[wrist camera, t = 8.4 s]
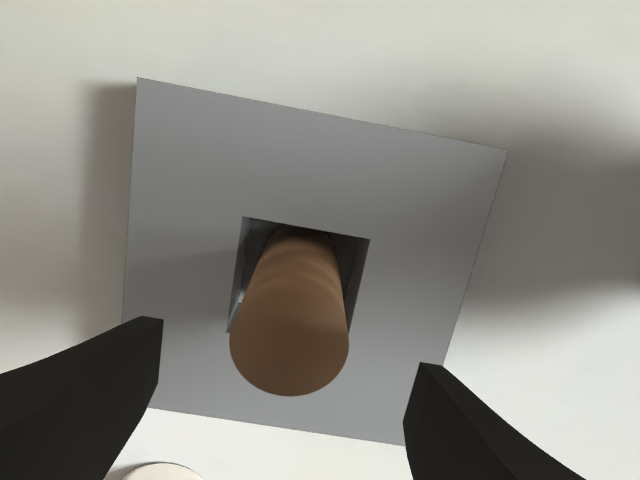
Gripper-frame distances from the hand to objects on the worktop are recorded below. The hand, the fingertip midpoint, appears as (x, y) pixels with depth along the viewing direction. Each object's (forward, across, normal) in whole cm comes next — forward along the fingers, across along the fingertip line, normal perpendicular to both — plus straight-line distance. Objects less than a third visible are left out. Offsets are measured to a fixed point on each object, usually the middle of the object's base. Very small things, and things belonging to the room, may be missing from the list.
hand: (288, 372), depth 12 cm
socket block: (+9, 0, 0) cm, 9 cm away
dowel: (+9, 0, 0) cm, 9 cm away
